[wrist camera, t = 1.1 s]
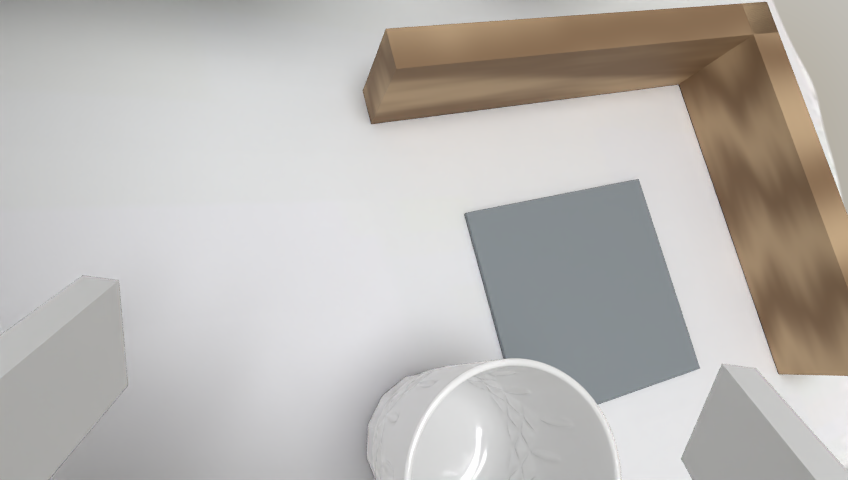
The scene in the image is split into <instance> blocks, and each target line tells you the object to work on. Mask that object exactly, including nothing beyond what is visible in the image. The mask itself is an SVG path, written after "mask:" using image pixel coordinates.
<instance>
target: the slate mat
mask: <svg viewBox="0 0 848 480" xmlns="http://www.w3.org/2000/svg"><path fill="white" fill-rule="evenodd" d="M465 218H466V221H467V225H468V229H469V232H470V236H471V240H472V243H473V247H474V251H475V254H476V258H477V262H478V265H479V269H480V273H481V276H482V280H483V284H484V287H485V291H486V295H487V298H488V302H489V306H490V309H491V313H492V317H493V320H494V324H495V328H496V331H497V335H498V339H499V342H500V346H501V350H502V353H503V357H504V359H507V358H521V359H529V360H534V361H538V362H542V363H545V364H548V365H550V366H553V367H555V368H557V369H559V370H561V371H562V372H564V373H566V374H567V375H569V376H570V377H571V378H573V379H574V380H575V381H577V382H578V383H579V384H580V385H581V386H582V387H583V388H584V389H585V390H586V391H587V392H588V393H589V394H590V395H591V397H592V398H593V399H594V400H595V402H596V403H597V404H601V403H603V402H606V401H609V400H612V399H615V398H618V397H620V396H623V395H626V394H629V393H632V392H635V391H637V390H640V389H643V388H646V387H649V386H652V385H654V384H657V383H660V382H663V381H666V380H669V379H671V378H674V377H677V376H680V375H683V374H685V373H688V372H691V371H694V370H697V369H700V367H699V364H698V361H697V358H696V355H695V352H694V348H693V345H692V342H691V339H690V336H689V333H688V330H687V327H686V324H685V321H684V318H683V315H682V311H681V308H680V305H679V302H678V299H677V296H676V293H675V290H674V287H673V284H672V281H671V278H670V274H669V271H668V268H667V265H666V262H665V259H664V256H663V253H662V250H661V247H660V244H659V241H658V237H657V234H656V231H655V228H654V225H653V222H652V219H651V216H650V213H649V210H648V207H647V204H646V200H645V197H644V194H643V191H642V188H641V185H640V182H639V179H636V180H631V181H626V182H621V183H616V184H611V185H606V186H600V187H595V188H590V189H585V190H580V191H575V192H570V193H565V194H560V195H554V196H549V197H544V198H539V199H534V200H529V201H524V202H519V203H514V204H509V205H503V206H498V207H493V208H488V209H483V210H478V211H473V212H468V213H465Z"/></svg>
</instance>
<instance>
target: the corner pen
mask: <svg viewBox="0 0 848 480" xmlns="http://www.w3.org/2000/svg"><path fill="white" fill-rule="evenodd" d="M677 84H679V86H680V89H681V92H682V95H683V98H684V100H685V103H686V106H687V109H688V112H689V115H690V118H691V121H692V124H693V127H694V129H695V132H696V135H697V138H698V141H699V144H700V147H701V150H702V153H703V156H704V158H705V161H706V164H707V167H708V170H709V173H710V176H711V179H712V182H713V185H714V187H715V190H716V193H717V196H718V199H719V202H720V205H721V208H722V211H723V214H724V216H725V219H726V222H727V225H728V228H729V231H730V234H731V237H732V240H733V243H734V245H735V248H736V251H737V254H738V257H739V260H740V263H741V266H742V269H743V272H744V274H745V277H746V280H747V283H748V286H749V289H750V292H751V295H752V298H753V301H754V303H755V306H756V309H757V312H758V315H759V318H760V321H761V324H762V327H763V330H764V333H765V335H766V338H767V341H768V344H769V347H770V350H771V353H772V356H773V359H774V362H775V364H776V367H777V370H778V373H779V374H794V375H837V376H848V215H847V212H846V210H845V207H844V204H843V202H842V199H841V196H840V194H839V191H838V189H837V186H836V183H835V181H834V178H833V175H832V173H831V170H830V167H829V165H828V162H827V160H826V157H825V154H824V152H823V149H822V146H821V144H820V141H819V138H818V136H817V133H816V131H815V128H814V125H813V123H812V120H811V117H810V115H809V112H808V109H807V107H806V104H805V101H804V99H803V96H802V94H801V91H800V88H799V86H798V83H797V80H796V78H795V75H794V72H793V70H792V67H791V65H790V62H789V59H788V57H787V54H786V51H785V49H784V46H783V43H782V41H781V38H780V36H779V33H778V30H777V28H776V25H775V22H774V20H773V17H772V14H771V12H770V9H769V6H768V4H767V2H758V3H744V4H730V5H716V6H702V7H688V8H673V9H659V10H645V11H631V12H617V13H603V14H588V15H574V16H560V17H546V18H532V19H518V20H503V21H489V22H475V23H461V24H447V25H433V26H418V27H404V28H390V29H386V30H385V32H384V35H383V38H382V41H381V43H380V46H379V49H378V51H377V54H376V57H375V59H374V62H373V65H372V68H371V70H370V73H369V76H368V78H367V81H366V84H365V86H364V89H363V93H364V97H365V101H366V105H367V109H368V113H369V117H370V121H371V124H375V123H383V122H391V121H398V120H406V119H414V118H422V117H429V116H437V115H445V114H453V113H460V112H468V111H476V110H483V109H491V108H499V107H507V106H514V105H522V104H530V103H538V102H545V101H553V100H561V99H569V98H576V97H584V96H592V95H600V94H607V93H615V92H623V91H631V90H638V89H646V88H654V87H662V86H669V85H677Z"/></svg>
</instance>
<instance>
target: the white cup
mask: <svg viewBox="0 0 848 480" xmlns="http://www.w3.org/2000/svg"><path fill="white" fill-rule="evenodd" d="M367 460H368V463H369V465H370V467H371V470H372V472H373V475H374V477H375V479H376V480H622V478H621V466H620V459H619V454H618V450H617V446H616V442H615V439H614V436H613V433H612V431H611V428H610V426H609V424H608V422H607V420H606V418H605V416H604V414H603V412H602V411H601V409H600V407H599V406H598V404H597V403H596V402H595V400H594V399H593V398H592V397H591V395H590V394H589V393H588V392H587V391H586V390H585V389H584V388H583V387H582V386H581V385H580V384H579V383H578V382H577V381H575V380H574V379H573V378H571V377H570V376H569V375H567V374H566V373H564V372H562V371H561V370H559V369H557V368H555V367H553V366H550V365H548V364H545V363H542V362H538V361H534V360H529V359H521V358H507V359H498V360H491V361H482V362H474V363H464V364H456V365H450V366H443V367H440V368H435V369H431V370H428V371H426V372H424V373H419V374H415V375H411V376H406V377H405V378H403V379H402V380H401V381H400V382H399V383H397V384H396V385H395V386H394V387H392V388H391V389H390V390H389V391H388V392H386V393H385V394H384V395H383V396H382V397H381V399H380V401H379V403H378V405H377V407H376V409H375V411H374V414H373V416H372V418H371V420H370V422H369V424H368V436H367Z"/></svg>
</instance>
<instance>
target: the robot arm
mask: <svg viewBox="0 0 848 480" xmlns="http://www.w3.org/2000/svg"><path fill="white" fill-rule="evenodd" d="M127 386H128V380H127V368H126V357H125V345H124V334H123V322H122V311H121V299H120V288H119V280H113V279H106V278H98V277H91V276H84V275H82V276H81V277H79V278H78V279H77V280H75V281H74V282H73V283H71V284H70V285H68V286H67V287H66V288H64V289H63V290H62V291H60V292H59V293H57V294H56V295H55V296H53V297H52V298H51V299H49V300H48V301H47V302H45V303H44V304H42V305H41V306H40V307H38V308H37V309H36V310H34V311H33V312H31V313H30V314H29V315H27V316H26V317H25V318H23V319H22V320H20V321H19V322H18V323H16V324H15V325H14V326H12V327H11V328H10V329H8V330H7V331H5V332H4V333H3V334H1V335H0V480H49V479H50V478H51V477H52V475H53V474H54V473H55V472H56V471H57V469H58V468H59V467H60V466H61V465H62V463H63V462H64V461H65V460H66V459H67V457H68V456H69V455H70V454H71V453H72V452H73V450H74V449H75V448H76V447H77V446H78V444H79V443H80V442H81V441H82V440H83V438H84V437H85V436H86V435H87V434H88V432H89V431H90V430H91V429H92V428H93V427H94V425H95V424H96V423H97V422H98V421H99V419H100V418H101V417H102V416H103V415H104V413H105V412H106V411H107V410H108V409H109V408H110V406H111V405H112V404H113V403H114V402H115V400H116V399H117V398H118V397H119V396H120V394H121V393H122V392H123V391H124V390H125V388H126V387H127ZM681 460H682V461H683V463H684V465H685V467H686V469H687V471H688V472H689V474H690V476H691V478H692V480H848V471H847V470H846V469H845V467H844V466H843V465H842V464H841V463H840V462H839V461H838V460H837V458H836V457H835V456H834V455H833V454H832V453H831V452H830V451H829V450H828V448H827V447H826V446H825V445H824V444H823V443H822V442H821V441H820V439H819V438H818V437H817V436H816V435H815V434H814V433H813V432H812V430H811V429H810V428H809V427H808V426H807V425H806V424H805V423H804V422H803V420H802V419H801V418H800V417H799V416H798V415H797V414H796V413H795V411H794V410H793V409H792V408H791V407H790V406H789V405H788V404H787V402H786V401H785V400H784V399H783V398H782V397H781V396H780V395H779V394H778V392H777V391H776V390H775V389H774V388H773V387H772V386H771V385H770V383H769V382H768V381H767V380H766V379H765V378H764V377H763V376H762V375H761V373H760V372H759V371H758V370H757V369H756V368H750V367H743V366H736V365H728V364H722V365H721V367H720V369H719V372H718V374H717V376H716V379H715V381H714V383H713V386H712V388H711V390H710V393H709V395H708V397H707V400H706V402H705V404H704V407H703V409H702V411H701V413H700V416H699V418H698V420H697V423H696V425H695V427H694V430H693V432H692V434H691V437H690V439H689V441H688V444H687V446H686V448H685V451H684V453H683V455H682V458H681Z"/></svg>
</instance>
